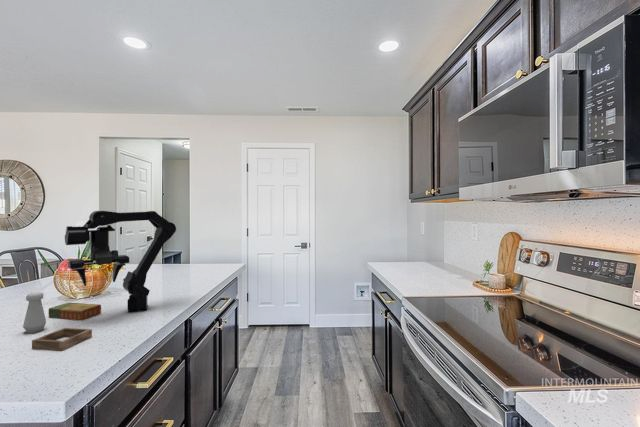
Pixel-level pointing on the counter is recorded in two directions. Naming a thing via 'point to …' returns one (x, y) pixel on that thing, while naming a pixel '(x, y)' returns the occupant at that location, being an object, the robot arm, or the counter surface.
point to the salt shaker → (34, 313)
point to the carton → (74, 311)
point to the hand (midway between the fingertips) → (99, 283)
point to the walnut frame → (51, 339)
